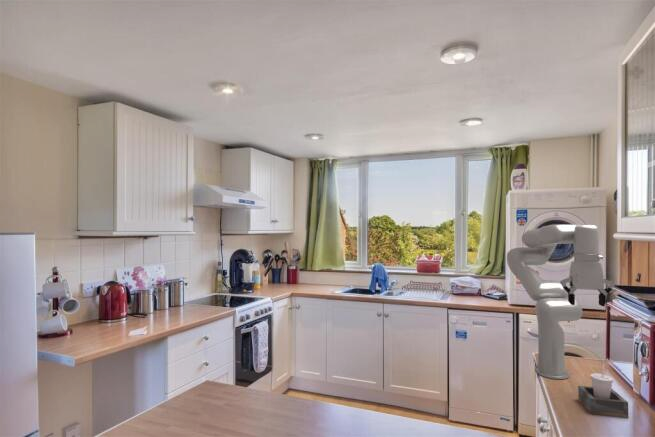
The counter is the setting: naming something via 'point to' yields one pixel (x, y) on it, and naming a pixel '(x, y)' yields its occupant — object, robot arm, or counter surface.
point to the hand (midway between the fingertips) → (586, 304)
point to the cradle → (603, 403)
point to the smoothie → (601, 385)
